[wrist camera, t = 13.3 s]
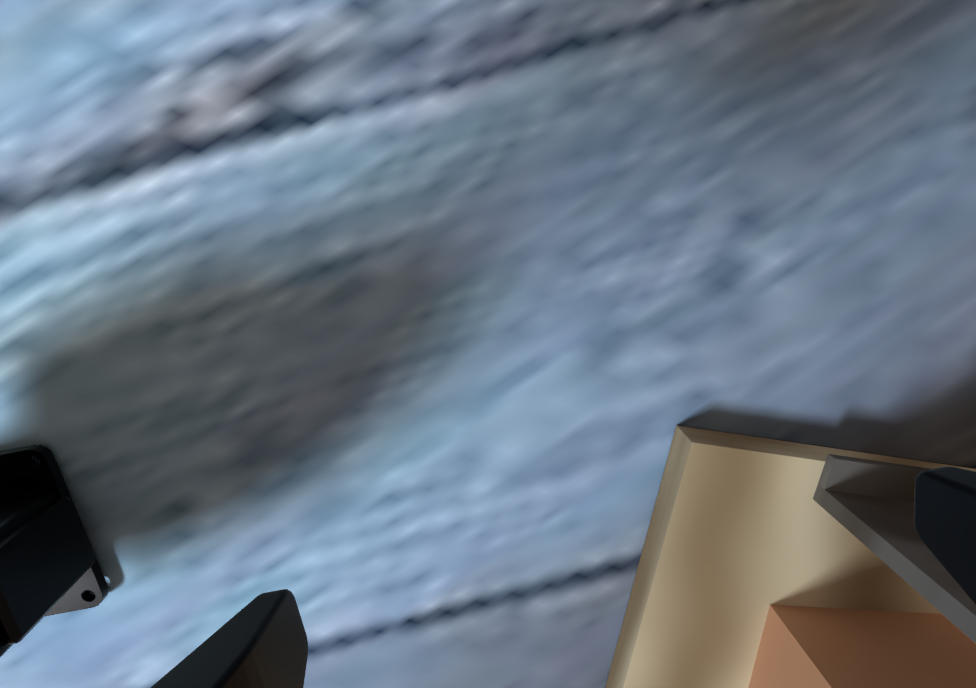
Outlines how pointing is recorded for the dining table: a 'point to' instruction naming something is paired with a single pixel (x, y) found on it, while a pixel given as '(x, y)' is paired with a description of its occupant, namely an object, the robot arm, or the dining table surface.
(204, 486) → the dining table surface
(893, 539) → the wooden board with blocks
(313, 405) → the dining table surface
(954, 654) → the brown rectangular block
